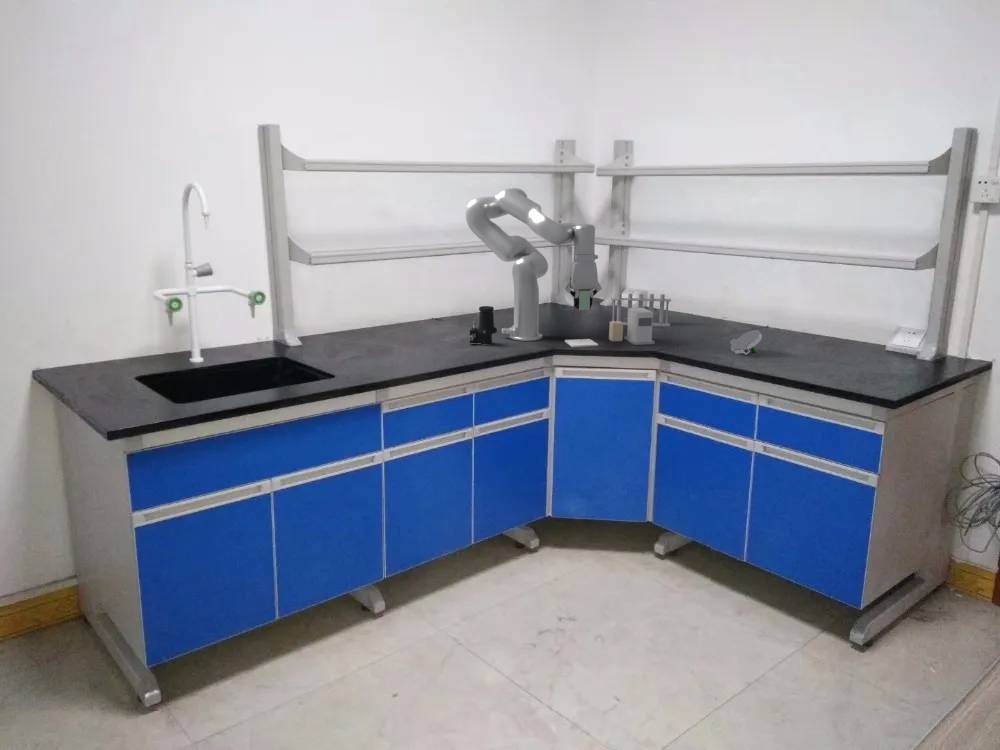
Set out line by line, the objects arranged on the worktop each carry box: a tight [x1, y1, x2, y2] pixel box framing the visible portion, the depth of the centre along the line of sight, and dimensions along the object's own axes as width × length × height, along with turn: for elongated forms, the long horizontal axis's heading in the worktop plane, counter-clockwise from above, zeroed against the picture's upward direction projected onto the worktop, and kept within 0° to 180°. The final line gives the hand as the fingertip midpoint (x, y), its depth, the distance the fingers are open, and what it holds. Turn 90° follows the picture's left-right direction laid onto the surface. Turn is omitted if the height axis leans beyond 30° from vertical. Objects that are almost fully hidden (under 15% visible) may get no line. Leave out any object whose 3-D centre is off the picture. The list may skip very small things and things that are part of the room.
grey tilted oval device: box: [729, 329, 763, 355], centre depth 276 cm, size 15×8×11 cm
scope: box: [468, 305, 498, 345], centre depth 288 cm, size 8×14×10 cm
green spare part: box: [577, 290, 590, 311], centre depth 286 cm, size 4×4×7 cm
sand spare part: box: [608, 320, 624, 342], centre depth 296 cm, size 4×4×7 cm
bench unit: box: [623, 307, 656, 346], centre depth 293 cm, size 8×11×12 cm
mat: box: [564, 338, 599, 348], centre depth 290 cm, size 10×10×1 cm
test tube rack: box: [610, 292, 672, 327], centre depth 325 cm, size 25×4×13 cm, turn 83°
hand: (582, 307), depth 286 cm, fingers closed on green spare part, 4 cm apart
